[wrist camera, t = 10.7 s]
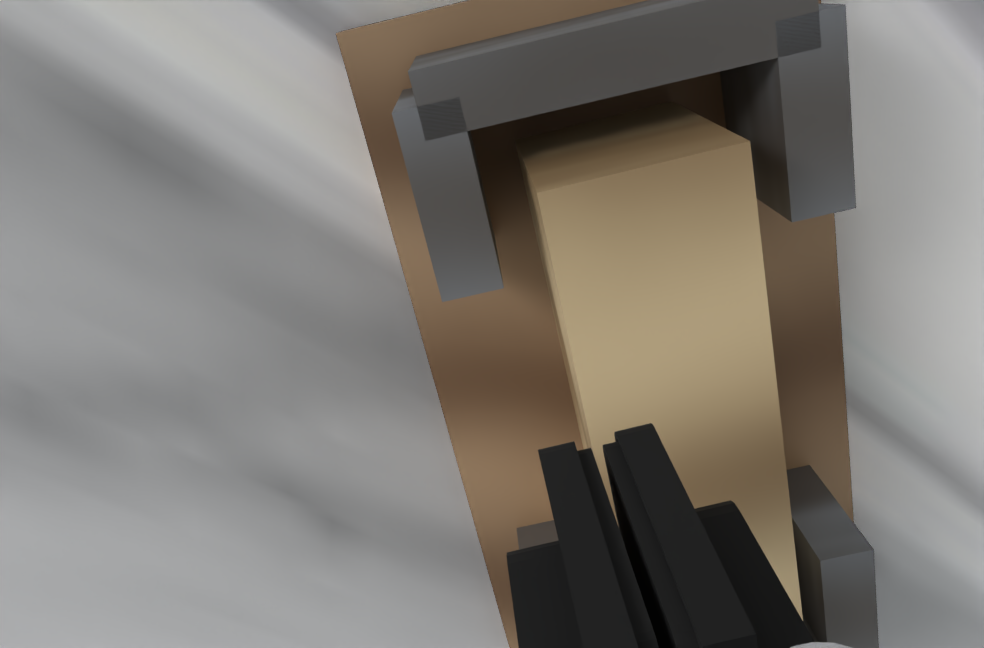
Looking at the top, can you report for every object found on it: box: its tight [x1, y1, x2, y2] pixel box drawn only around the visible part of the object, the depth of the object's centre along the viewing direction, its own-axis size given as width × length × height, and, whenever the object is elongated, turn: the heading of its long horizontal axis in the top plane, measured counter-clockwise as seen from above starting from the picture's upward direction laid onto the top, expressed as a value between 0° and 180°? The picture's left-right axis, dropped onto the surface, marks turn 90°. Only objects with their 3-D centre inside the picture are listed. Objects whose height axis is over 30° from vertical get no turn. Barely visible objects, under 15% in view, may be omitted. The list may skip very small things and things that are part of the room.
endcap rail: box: [336, 0, 879, 648], centre depth 19 cm, size 18×10×4 cm, turn 13°
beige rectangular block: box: [515, 102, 803, 620], centre depth 18 cm, size 12×4×5 cm, turn 13°
